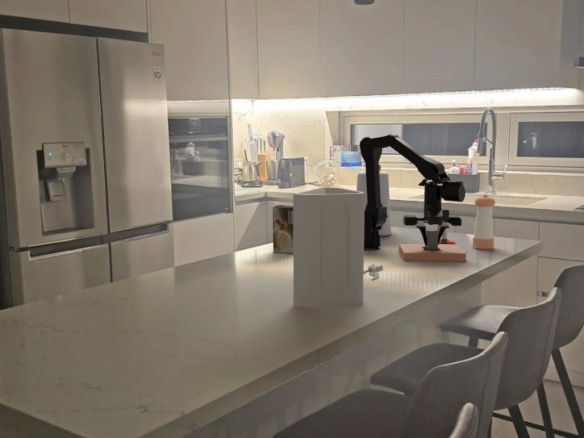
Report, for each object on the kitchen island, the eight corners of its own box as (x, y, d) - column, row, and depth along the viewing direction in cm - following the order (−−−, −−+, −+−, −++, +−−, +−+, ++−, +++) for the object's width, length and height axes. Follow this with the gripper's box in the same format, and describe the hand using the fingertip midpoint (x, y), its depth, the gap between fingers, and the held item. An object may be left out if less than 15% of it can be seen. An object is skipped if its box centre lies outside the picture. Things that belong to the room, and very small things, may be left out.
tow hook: (431, 242, 252) (432, 245, 243) (432, 208, 251) (433, 210, 242) (453, 242, 251) (455, 246, 242) (454, 209, 250) (457, 211, 240)
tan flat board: (404, 260, 217) (404, 253, 217) (398, 250, 233) (399, 243, 233) (465, 261, 216) (466, 253, 216) (456, 251, 232) (456, 244, 232)
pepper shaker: (496, 249, 236) (498, 195, 233) (475, 249, 236) (477, 195, 233) (490, 245, 243) (492, 193, 240) (470, 245, 243) (472, 193, 240)
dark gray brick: (426, 254, 222) (427, 231, 221) (424, 251, 227) (425, 228, 226) (437, 254, 222) (438, 231, 221) (435, 251, 227) (435, 228, 226)
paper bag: (348, 313, 158) (349, 197, 154) (292, 306, 165) (292, 194, 160) (374, 294, 175) (375, 189, 171) (322, 288, 182) (323, 186, 177)
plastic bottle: (354, 229, 277) (355, 163, 273) (390, 230, 275) (392, 163, 271) (352, 236, 263) (353, 165, 258) (391, 237, 260) (392, 165, 256)
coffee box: (303, 251, 233) (303, 205, 231) (296, 254, 227) (296, 208, 225) (279, 249, 237) (279, 204, 234) (272, 252, 231) (271, 206, 228)
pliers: (342, 272, 195) (363, 262, 208) (342, 277, 195) (363, 267, 208) (374, 276, 190) (392, 266, 203) (373, 281, 191) (392, 271, 204)
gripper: (407, 202, 214) (406, 250, 217) (465, 203, 213) (464, 250, 216) (403, 198, 225) (402, 243, 228) (459, 199, 224) (457, 244, 227)
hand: (431, 245), depth 224 cm, fingers closed on dark gray brick, 3 cm apart
